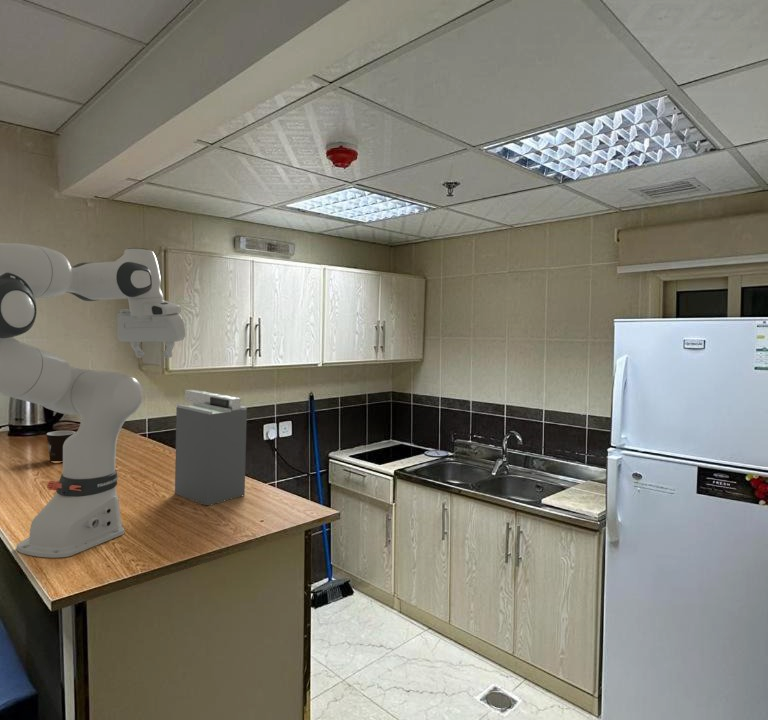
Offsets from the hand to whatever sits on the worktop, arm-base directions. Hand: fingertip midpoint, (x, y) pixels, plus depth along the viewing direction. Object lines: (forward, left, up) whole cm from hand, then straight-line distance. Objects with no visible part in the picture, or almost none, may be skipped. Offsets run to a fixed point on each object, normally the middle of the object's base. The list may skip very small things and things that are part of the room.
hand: (154, 357), depth 147 cm
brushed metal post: (+15, -9, -15) cm, 23 cm away
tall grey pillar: (+10, -13, -41) cm, 44 cm away
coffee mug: (+27, +55, -41) cm, 74 cm away
